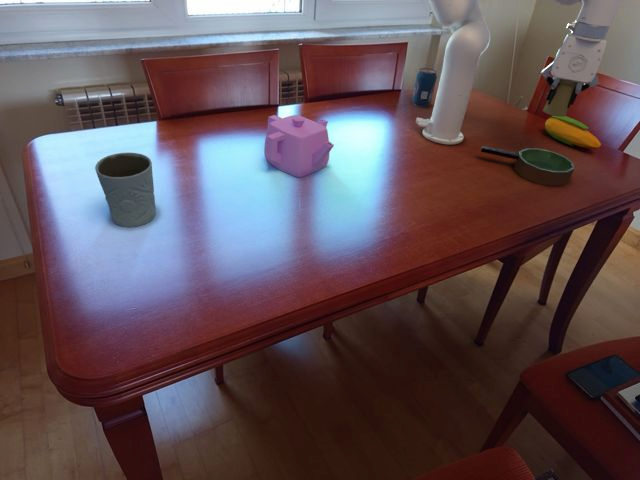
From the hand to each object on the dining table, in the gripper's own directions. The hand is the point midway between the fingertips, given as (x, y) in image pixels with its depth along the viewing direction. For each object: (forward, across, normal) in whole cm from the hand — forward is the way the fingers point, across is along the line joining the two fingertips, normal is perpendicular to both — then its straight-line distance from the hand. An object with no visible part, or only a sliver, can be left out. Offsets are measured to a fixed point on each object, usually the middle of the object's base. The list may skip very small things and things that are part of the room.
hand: (557, 104), depth 117 cm
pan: (+17, -3, -8) cm, 19 cm away
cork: (+2, 0, 0) cm, 2 cm away
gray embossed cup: (+18, -81, -73) cm, 111 cm away
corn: (+17, +11, +20) cm, 28 cm away
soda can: (+18, -38, +30) cm, 52 cm away
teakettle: (+18, -60, -34) cm, 71 cm away
